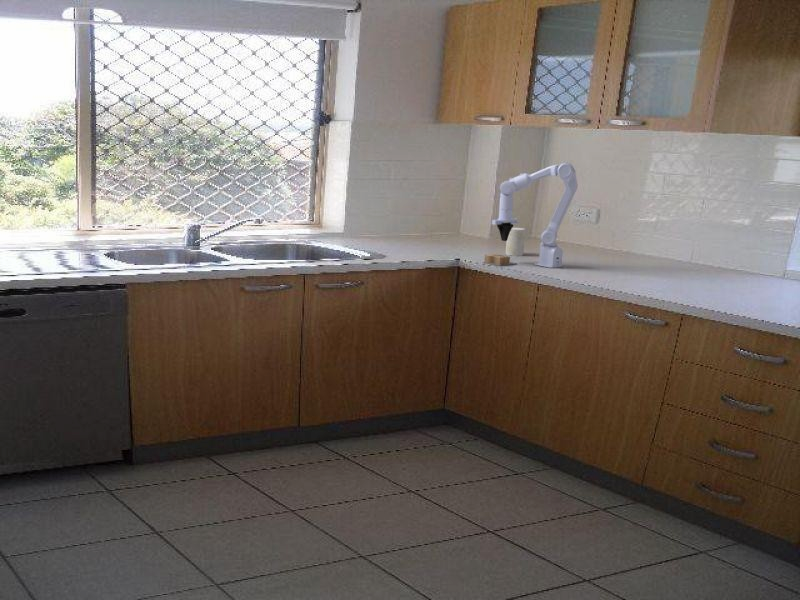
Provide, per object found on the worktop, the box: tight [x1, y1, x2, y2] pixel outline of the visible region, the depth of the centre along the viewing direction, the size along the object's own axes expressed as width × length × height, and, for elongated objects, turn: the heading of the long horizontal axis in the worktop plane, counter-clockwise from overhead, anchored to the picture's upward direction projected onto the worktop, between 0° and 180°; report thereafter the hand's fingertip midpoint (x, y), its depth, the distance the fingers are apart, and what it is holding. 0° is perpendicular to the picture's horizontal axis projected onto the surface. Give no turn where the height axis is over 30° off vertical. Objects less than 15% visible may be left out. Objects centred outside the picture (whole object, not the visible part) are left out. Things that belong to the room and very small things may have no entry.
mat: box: [481, 261, 518, 267], centre depth 363 cm, size 10×11×1 cm
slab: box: [484, 253, 511, 265], centre depth 362 cm, size 9×3×6 cm
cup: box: [505, 227, 526, 257], centre depth 388 cm, size 8×8×12 cm
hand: (504, 240), depth 364 cm, fingers closed
